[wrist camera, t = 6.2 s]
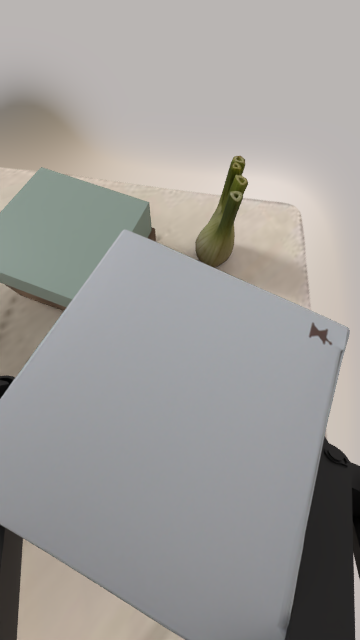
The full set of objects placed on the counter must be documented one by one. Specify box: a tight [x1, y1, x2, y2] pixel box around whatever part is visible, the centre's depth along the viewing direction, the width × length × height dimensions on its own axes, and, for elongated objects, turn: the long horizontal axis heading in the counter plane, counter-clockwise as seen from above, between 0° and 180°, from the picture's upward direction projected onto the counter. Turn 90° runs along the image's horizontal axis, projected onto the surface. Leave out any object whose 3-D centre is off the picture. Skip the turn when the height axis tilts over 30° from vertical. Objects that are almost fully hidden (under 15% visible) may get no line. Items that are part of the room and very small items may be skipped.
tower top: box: [0, 167, 152, 307], centre depth 23 cm, size 13×13×4 cm
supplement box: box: [0, 229, 350, 640], centre depth 14 cm, size 10×9×17 cm
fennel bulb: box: [196, 156, 248, 268], centre depth 24 cm, size 6×5×12 cm
